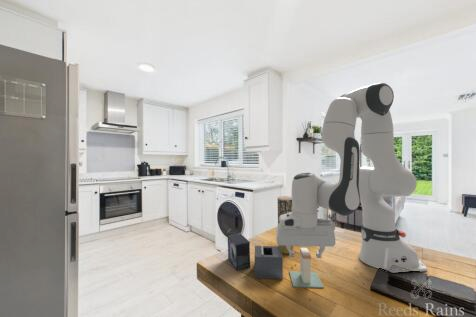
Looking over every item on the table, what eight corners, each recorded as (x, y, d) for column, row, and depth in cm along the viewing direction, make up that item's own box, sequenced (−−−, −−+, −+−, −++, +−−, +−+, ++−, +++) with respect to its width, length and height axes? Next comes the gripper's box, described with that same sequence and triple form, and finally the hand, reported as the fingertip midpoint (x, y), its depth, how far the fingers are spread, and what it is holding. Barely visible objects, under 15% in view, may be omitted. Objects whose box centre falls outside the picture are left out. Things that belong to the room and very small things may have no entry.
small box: (227, 258, 90) (226, 234, 90) (240, 255, 93) (240, 232, 93) (235, 271, 81) (235, 244, 80) (251, 267, 83) (250, 241, 83)
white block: (307, 274, 77) (307, 247, 76) (310, 283, 72) (310, 254, 71) (300, 274, 77) (299, 247, 77) (303, 282, 72) (302, 254, 72)
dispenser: (280, 266, 84) (279, 245, 83) (282, 279, 75) (282, 256, 74) (255, 265, 84) (254, 244, 84) (254, 278, 76) (254, 255, 75)
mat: (316, 272, 78) (316, 271, 78) (323, 288, 69) (323, 286, 69) (289, 271, 79) (289, 270, 79) (293, 286, 70) (293, 285, 70)
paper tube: (293, 254, 93) (292, 199, 92) (278, 253, 94) (277, 198, 94) (292, 248, 99) (292, 196, 99) (278, 247, 101) (277, 195, 100)
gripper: (331, 216, 76) (332, 253, 76) (275, 215, 78) (275, 252, 78) (338, 221, 70) (338, 262, 70) (276, 221, 72) (277, 260, 72)
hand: (305, 257), depth 74 cm, fingers open, 8 cm apart
